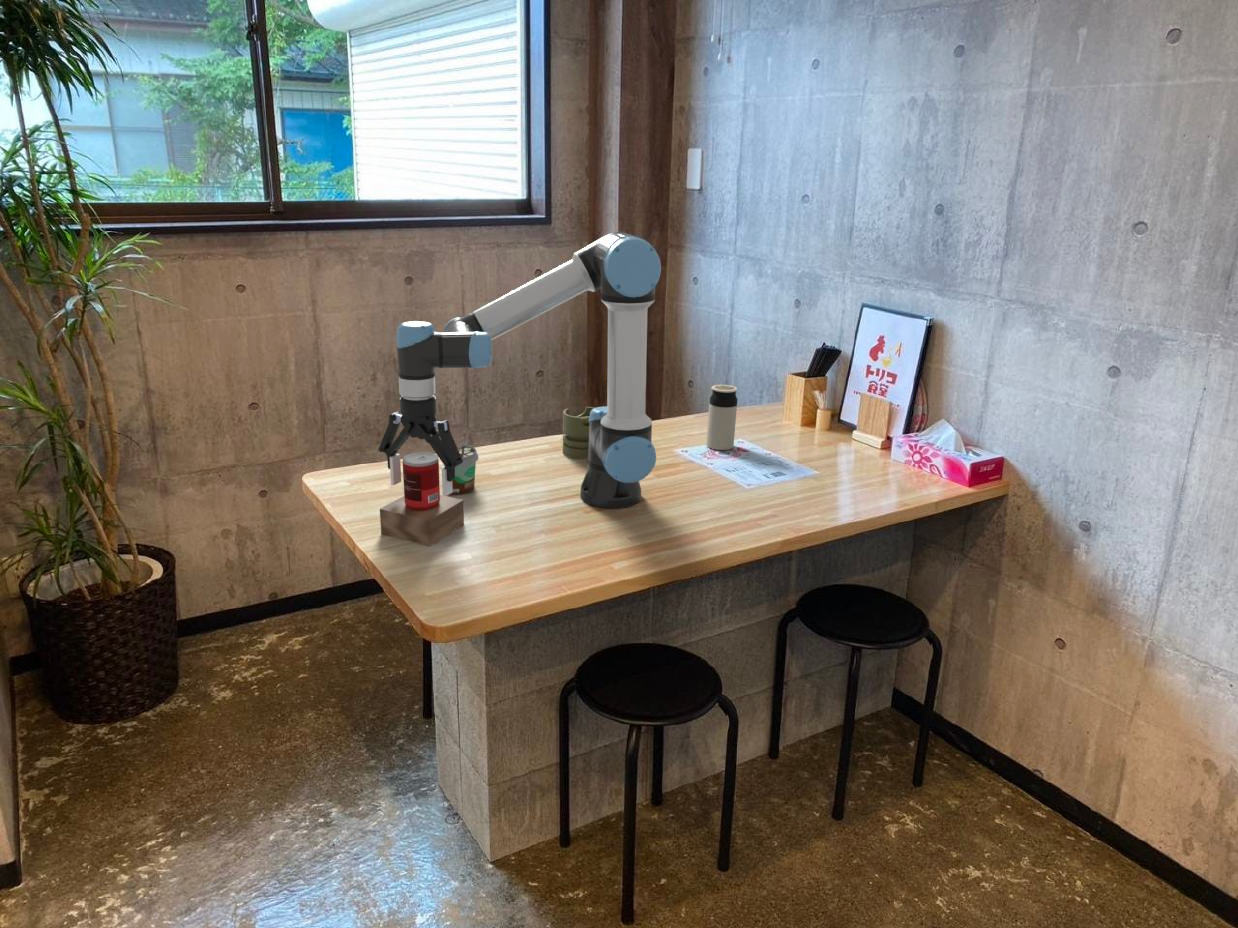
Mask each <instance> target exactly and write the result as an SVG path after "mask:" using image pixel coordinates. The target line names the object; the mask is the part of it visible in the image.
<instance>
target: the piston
mask: <svg viewBox="0 0 1238 928" xmlns="http://www.w3.org/2000/svg"><path fill="white" fill-rule="evenodd" d="M594 408H595V407H594V406H593V407H592V406H585V408H584V409H585V410H583V412H582V413H581V414H579V415H576V416H574V415H571V414H570V411H569V408H565V409H564V410H563V411H562V432H563V434H562V454H563V455H564V456H566V457H568V458H570V459H575V460H588V459H589V419H590V412H591V410H592V409H594Z"/></svg>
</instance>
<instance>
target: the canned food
mask: <svg viewBox="0 0 1238 928" xmlns="http://www.w3.org/2000/svg"><path fill="white" fill-rule="evenodd" d="M439 460H440V458H439V457H438V455H437V454H436V453H434V452H428V451H416V452H411V453H407V454H406V455H404V456H403V457H402V478H403V494H404V495H403V496H404V499H405V504H406V506H407V507H408V508H409V509H412V510H418V511H423V510H429V509H433V508H435V507H436V506H438V504H439V501H440V495H441V491H440V490H441V489H440V462H439Z"/></svg>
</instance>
